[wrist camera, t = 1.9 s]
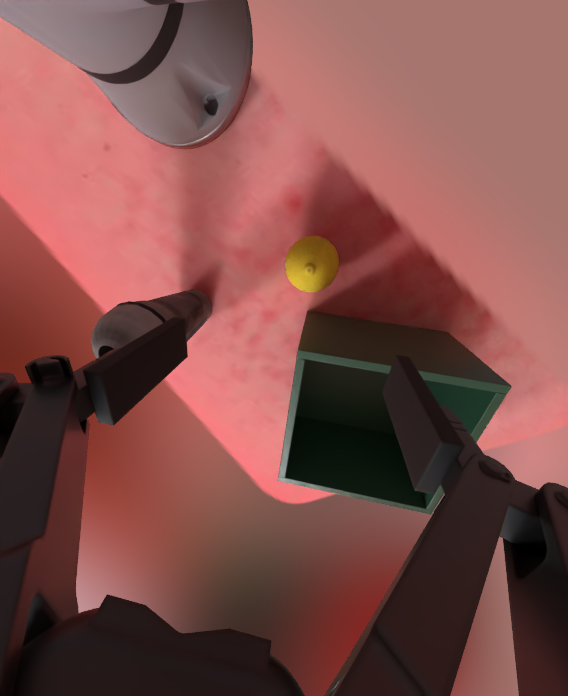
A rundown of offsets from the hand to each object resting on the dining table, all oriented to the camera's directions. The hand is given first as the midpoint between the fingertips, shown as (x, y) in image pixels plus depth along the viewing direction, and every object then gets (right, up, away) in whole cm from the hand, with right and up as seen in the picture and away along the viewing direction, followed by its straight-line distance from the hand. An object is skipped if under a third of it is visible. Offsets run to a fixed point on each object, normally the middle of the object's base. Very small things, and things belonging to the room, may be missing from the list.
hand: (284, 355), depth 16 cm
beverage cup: (-12, +6, +19) cm, 23 cm away
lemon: (+4, +11, +14) cm, 18 cm away
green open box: (+11, -4, +20) cm, 23 cm away
